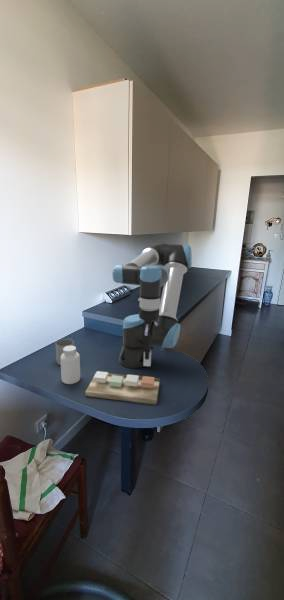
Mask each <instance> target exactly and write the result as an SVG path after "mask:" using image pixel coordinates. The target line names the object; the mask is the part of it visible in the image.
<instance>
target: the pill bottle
mask: <svg viewBox="0 0 284 600" xmlns="http://www.w3.org/2000/svg"><path fill="white" fill-rule="evenodd" d="M80 358H81V356H80V353H79V352H77V347H76V346H75V345H74V346H66V347H64V348H63V354H62V355H61V358H60V359H61V365H60V373H61V375H60V376H61V381H62V383H64V384H66V385H73V384H77V383H78V382H79V381H80V380H81V359H80Z"/></svg>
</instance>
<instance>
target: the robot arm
mask: <svg viewBox="0 0 284 600" xmlns="http://www.w3.org/2000/svg"><path fill="white" fill-rule="evenodd" d="M191 247H192V246H190V245H189V244H183V243H182V244H181V243H180V244H178V243H177V244H176V243H175V244H174V243H163V242H162V243H157V244H153V245H150V246H148V247H146V248H145V249H143V250H142V252H141V253H140V254H139V255H138V256H137V257H135V258H133V259H132V260H130V261H129V262H128V263H126V264H117V265H114V267H113V269H112V280H113V281H114V283H118V284H122V285H131V286H132V285H133V286H139V298H138V299H137V301H138V302H139V305H138V306H139V311H138V313H137V314H131V315H128V316H126V317H125V318H124V319H123V323H122V324H123V325H122V342H123V343H122V347H121V351H120V354H119V356H118V362H119V364H121V366H123V367H125V368H131V369H138V368H139V369H140V368H144V367H151V366H152V365H151V364H152V350H153V349H154V346H156V347H159V348H160V347H161V348H166V349H172V348H174V347H176V345H177V342H178V340H179V337H180V331H181V324H180V323H179V320H178V318H177V317H176V316H177V312H178V306H179V301H180V295H181V290H182V285H183V284H182V283H183V281H184V280H183V279H184V274H186V273H187V272H188V270H189V269H191V268H192V263H193V261H192V259H193V258H192V257H193V256H192V248H191ZM162 287H163V288H162ZM161 288H162V294H161Z"/></svg>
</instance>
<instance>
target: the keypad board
mask: <svg viewBox="0 0 284 600" xmlns="http://www.w3.org/2000/svg"><path fill="white" fill-rule="evenodd" d="M95 374H96V372H95ZM95 374H94V375H95ZM112 375H115V376H123V383H122V385H121V387H115V386H109V381H110V379H111V376H112ZM138 376H139V381H138V384H137V386H128V385H125V380H126V377H127V374H121V373H110V372H108V378H107V380H106V382H105V383H101V382H94V381H93V378H92V380H90V383H89V385H88V386H87V388H86V390H85V394H84V395H85V397H90V398H91V397H92V398H99V399H106V400H107V399H109V400H116V401H122V402H123V401H124V402H132V403H141V404H148V405H157V402H158V396H159V395H158V394H159V390H160V389H159V388H160V380H161V379H160V378H159V377H158V378H157V377H155V379H154V386H153V388H146V387H141V382H142V378H143V376H141V375H138Z"/></svg>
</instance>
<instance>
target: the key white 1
mask: <svg viewBox="0 0 284 600" xmlns="http://www.w3.org/2000/svg"><path fill="white" fill-rule="evenodd" d="M95 373H96V374H94V376H93V377H92V379H93V381H94V382H101V383H105V382H106V380H107V378H108V373H109V372H108V371H98V370H97V371H95Z"/></svg>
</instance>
